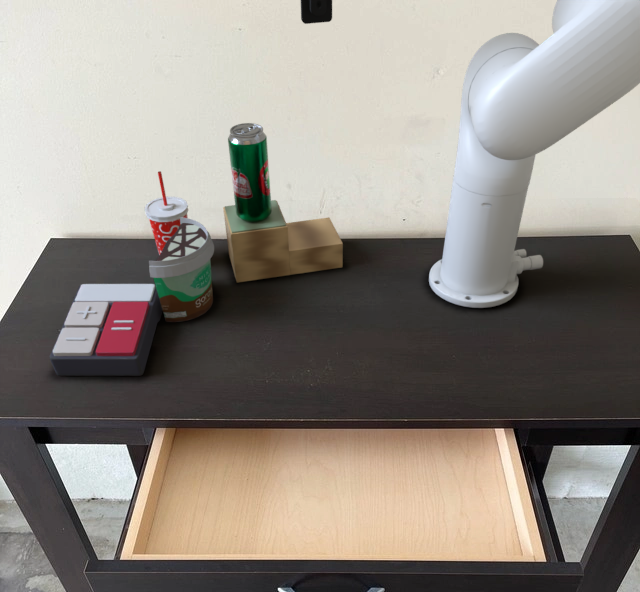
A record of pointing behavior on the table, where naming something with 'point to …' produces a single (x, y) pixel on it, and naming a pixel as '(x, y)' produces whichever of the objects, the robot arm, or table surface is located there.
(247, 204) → the soda can
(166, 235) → the beverage cup
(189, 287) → the food container
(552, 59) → the robot arm
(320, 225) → the riser
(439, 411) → the table surface
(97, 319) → the calculator
